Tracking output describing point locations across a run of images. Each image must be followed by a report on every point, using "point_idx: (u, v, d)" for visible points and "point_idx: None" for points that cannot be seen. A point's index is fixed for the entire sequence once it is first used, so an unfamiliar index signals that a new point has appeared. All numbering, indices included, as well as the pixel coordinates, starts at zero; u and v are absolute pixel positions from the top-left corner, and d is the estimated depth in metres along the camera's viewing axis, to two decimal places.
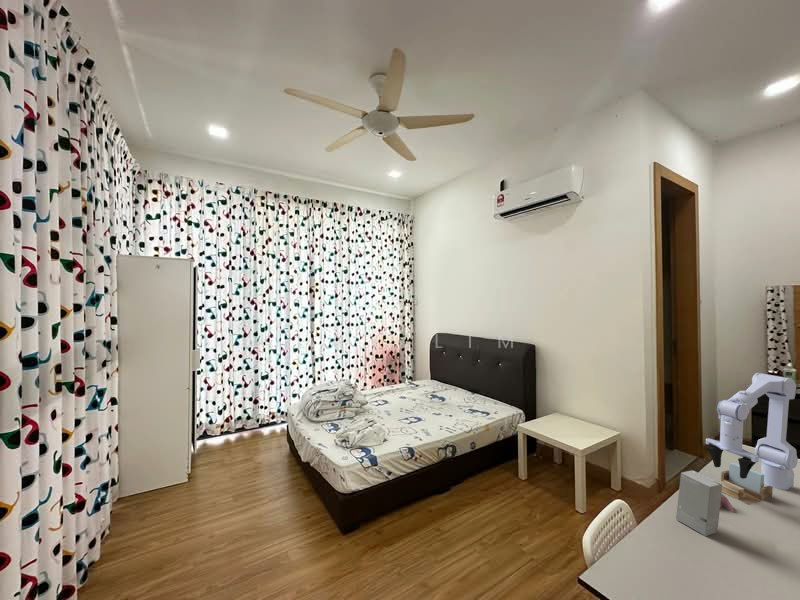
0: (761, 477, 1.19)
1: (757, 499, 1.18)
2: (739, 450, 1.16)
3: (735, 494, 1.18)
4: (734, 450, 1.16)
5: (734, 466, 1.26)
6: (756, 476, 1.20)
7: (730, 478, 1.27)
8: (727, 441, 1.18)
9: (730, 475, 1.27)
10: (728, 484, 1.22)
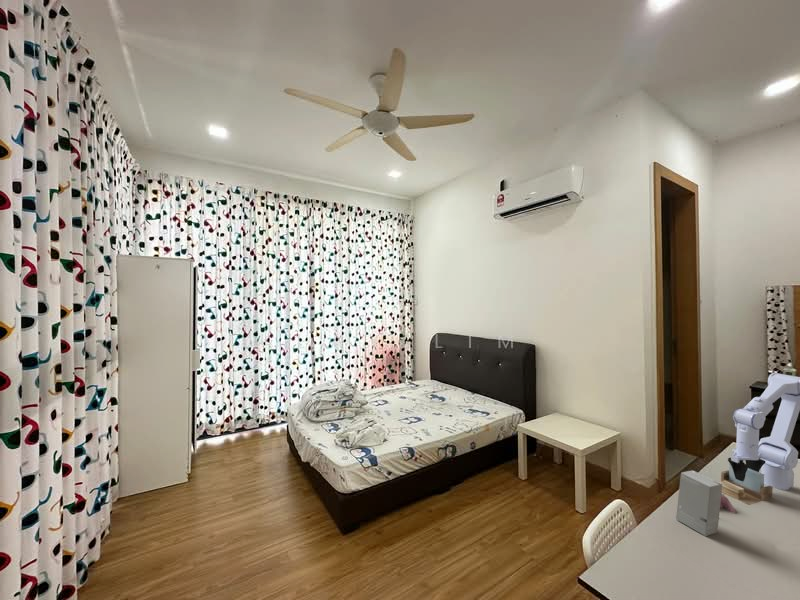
0: (761, 477, 1.19)
1: (757, 499, 1.18)
2: (739, 454, 1.23)
3: (735, 494, 1.18)
4: (735, 452, 1.25)
5: None
6: (756, 476, 1.20)
7: (730, 478, 1.27)
8: None
9: (730, 475, 1.27)
10: (728, 484, 1.22)
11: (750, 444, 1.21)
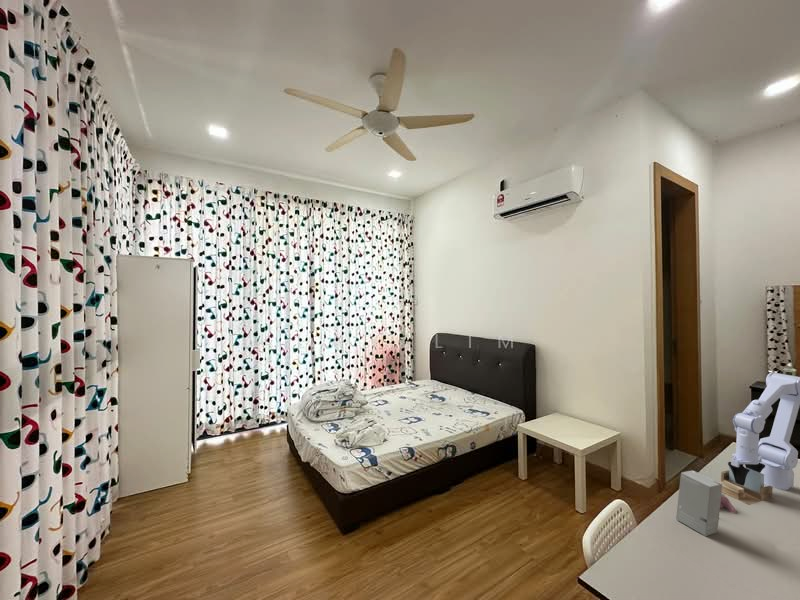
0: (761, 477, 1.19)
1: (757, 499, 1.18)
2: (739, 458, 1.23)
3: (735, 494, 1.18)
4: (735, 456, 1.25)
5: None
6: (756, 476, 1.20)
7: (730, 478, 1.27)
8: None
9: (730, 475, 1.27)
10: (728, 484, 1.22)
11: (750, 448, 1.21)
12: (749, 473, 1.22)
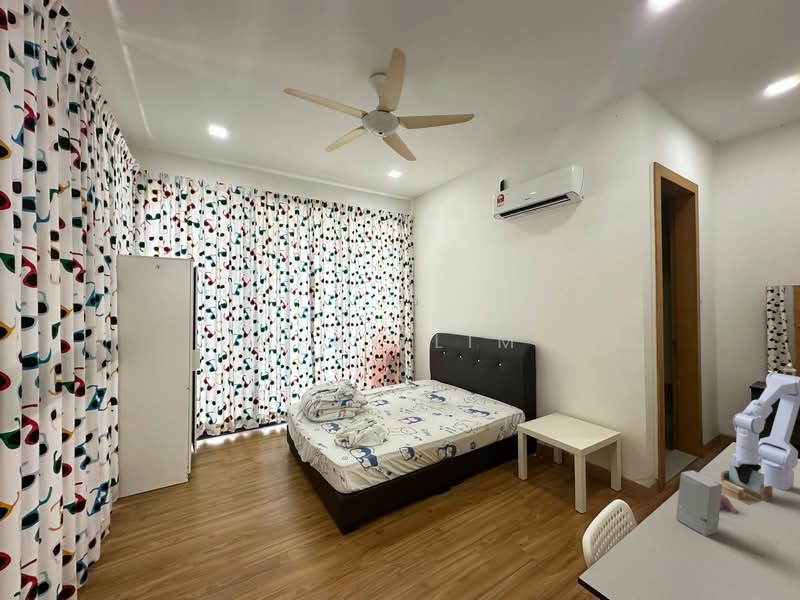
0: (761, 477, 1.19)
1: (757, 499, 1.18)
2: (739, 458, 1.23)
3: (735, 494, 1.18)
4: (735, 456, 1.25)
5: None
6: (756, 476, 1.20)
7: (730, 478, 1.27)
8: None
9: (730, 475, 1.27)
10: (728, 484, 1.22)
11: (750, 448, 1.21)
12: None
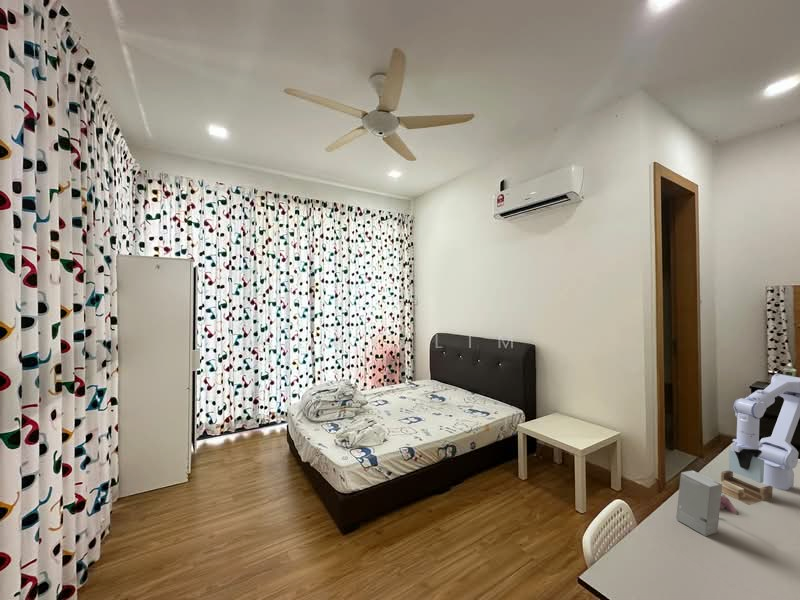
0: (761, 462, 1.19)
1: (757, 499, 1.18)
2: (740, 443, 1.23)
3: (735, 494, 1.18)
4: (736, 441, 1.25)
5: (734, 453, 1.26)
6: (756, 462, 1.20)
7: (730, 465, 1.27)
8: None
9: (730, 462, 1.27)
10: (728, 484, 1.22)
11: (750, 433, 1.21)
12: None
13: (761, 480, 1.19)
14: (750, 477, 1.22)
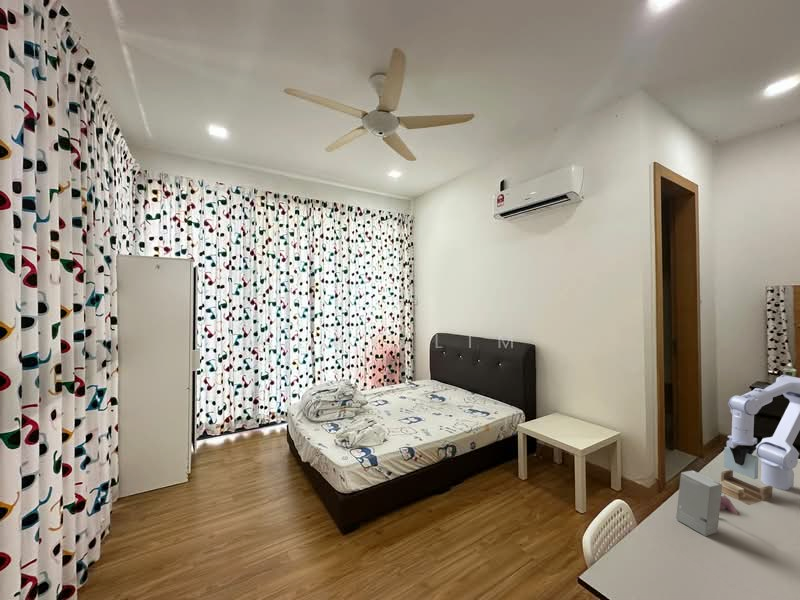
0: (755, 459, 1.21)
1: (757, 499, 1.18)
2: (735, 439, 1.25)
3: (735, 494, 1.18)
4: (731, 438, 1.27)
5: (729, 450, 1.28)
6: (750, 459, 1.23)
7: (725, 462, 1.29)
8: None
9: (725, 459, 1.29)
10: (728, 484, 1.22)
11: (744, 429, 1.23)
12: None
13: (755, 476, 1.22)
14: (745, 474, 1.24)
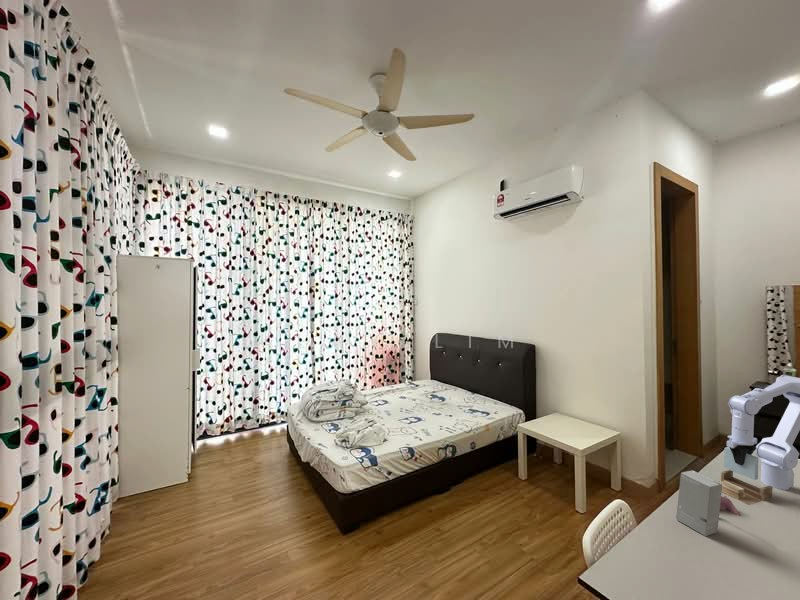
0: (755, 460, 1.21)
1: (757, 499, 1.18)
2: (735, 439, 1.25)
3: (735, 494, 1.18)
4: (731, 438, 1.27)
5: (729, 450, 1.28)
6: (750, 459, 1.22)
7: (725, 462, 1.29)
8: None
9: (725, 459, 1.29)
10: (728, 484, 1.22)
11: (744, 429, 1.23)
12: None
13: (756, 477, 1.22)
14: (745, 474, 1.24)
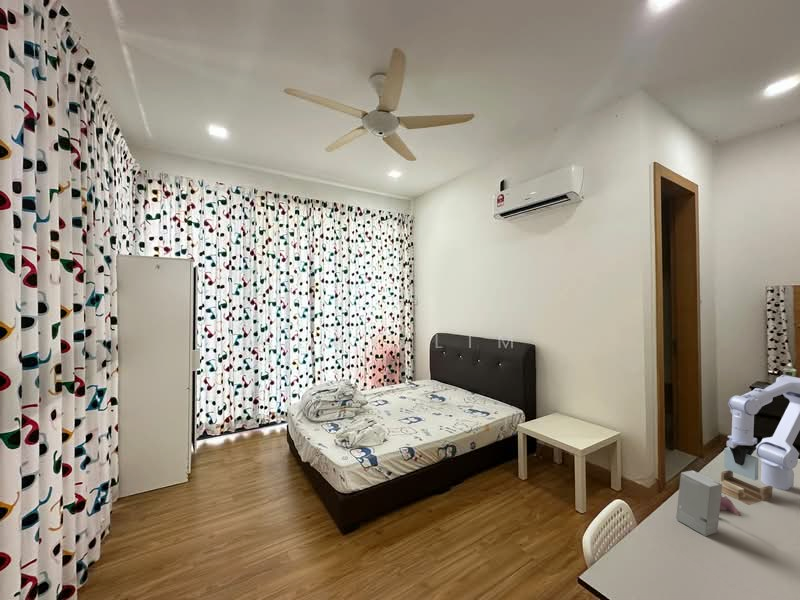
0: (755, 460, 1.21)
1: (757, 499, 1.18)
2: (735, 439, 1.25)
3: (735, 494, 1.18)
4: (731, 438, 1.27)
5: (729, 451, 1.28)
6: (750, 460, 1.22)
7: (725, 463, 1.29)
8: None
9: (725, 460, 1.29)
10: (728, 484, 1.22)
11: (744, 429, 1.23)
12: None
13: (756, 478, 1.22)
14: (745, 475, 1.24)
